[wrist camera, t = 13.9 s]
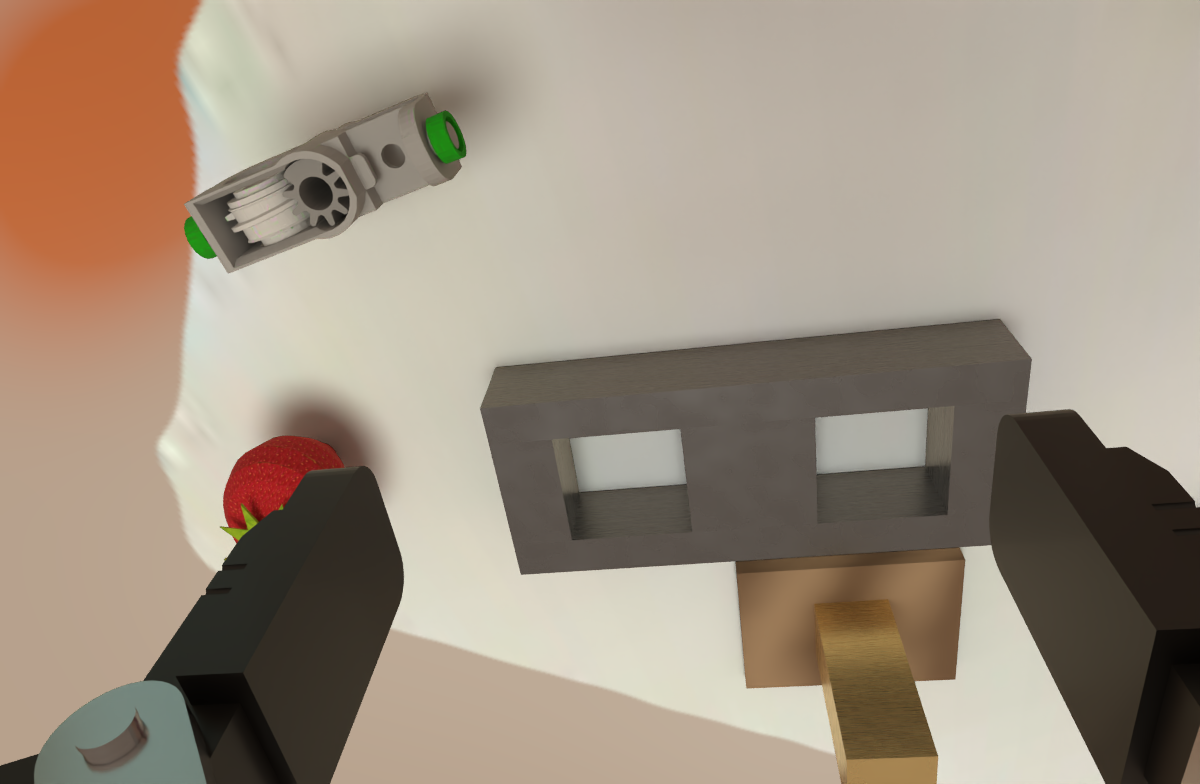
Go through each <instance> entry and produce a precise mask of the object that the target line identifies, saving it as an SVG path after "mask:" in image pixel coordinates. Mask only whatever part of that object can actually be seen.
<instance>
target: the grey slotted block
mask: <svg viewBox="0 0 1200 784" xmlns="http://www.w3.org/2000/svg"><path fill="white" fill-rule="evenodd" d="M1031 361H1032V359H1031V357H1030V356H1029V355H1028V354H1027V352H1026V351H1025V350H1024V349H1023V347H1022V346H1021V345H1020V344H1019V342H1018V341H1017V340H1016V339H1015V337H1014V336H1013V335H1012V334H1011V333H1010V331H1009V330H1008V329H1007V328H1006V326H1005V325H1004V324H1003V323H1002V321H1001V320H1000V319H997V320H986V321H976V322H965V323H955V324H945V325H934V326H924V327H913V328H903V329H892V330H882V331H872V332H861V333H851V334H840V335H830V336H820V337H809V338H799V339H788V340H778V341H767V342H757V343H747V344H736V345H726V346H715V347H705V348H695V349H684V350H674V351H663V352H653V353H642V354H632V355H622V356H611V357H601V358H590V359H580V360H570V361H559V362H549V363H538V364H528V365H518V366H507V367H497V368H495V371H494V373H493V376H492V379H491V381H490V384H489V387H488V389H487V392H486V394H485V397H484V400H483V402H482V405H481V408H480V410H481V414H482V418H483V422H484V426H485V430H486V434H487V438H488V442H489V446H490V450H491V454H492V458H493V463H494V467H495V471H496V475H497V479H498V483H499V487H500V491H501V495H502V499H503V503H504V507H505V511H506V515H507V520H508V524H509V528H510V532H511V536H512V540H513V544H514V548H515V552H516V556H517V560H518V564H519V568H520V573H521V575H523V574H539V573H555V572H571V571H587V570H602V569H618V568H634V567H650V566H666V565H682V564H698V563H714V562H730V561H746V560H762V559H778V558H794V557H809V556H825V555H841V554H857V553H873V552H889V551H905V550H921V549H937V548H953V547H969V546H985V545H991V539H990V530H989V514H990V503H991V493H992V482H993V472H994V462H995V451H996V441H997V432H998V426H999V423H1000V420H1001V418H1002V417H1003V416H1004V415H1007V414H1019V413H1026V405H1027V396H1028V387H1029V378H1030V370H1031ZM923 408H928V424H927V444H926V464H925V467H915V468H901V469H888V470H875V471H861V472H848V473H835V474H821V475H816V443H815V418H816V417H828V416H840V415H851V414H863V413H875V412H887V411H899V410H911V409H923ZM672 429H681V437H682V445H683V454H684V463H685V471H686V480H687V485H675V486H662V487H648V488H635V489H622V490H608V491H595V492H582V493H579V488H578V482H577V477H576V472H575V467H574V461H573V456H572V451H571V446H570V440H569V438H577V437H589V436H601V435H613V434H625V433H637V432H649V431H661V430H672Z"/></svg>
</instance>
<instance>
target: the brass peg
mask: <svg viewBox="0 0 1200 784" xmlns="http://www.w3.org/2000/svg"><path fill="white" fill-rule="evenodd" d="M814 613H815V638H816V657H817V662H818V667H819V672H820V677H821V682H822V687H823V692H824V698H825V703H826V708H827V713H828V718H829V723H830V728H831V733H832V738H833V743H834V749H835V754H836V759H837V764H838V769H839V774H840V779H841V784H936V783H937V766H938V755H937V751H936V748H935V745H934V742H933V739H932V736H931V732H930V729H929V726H928V723H927V720H926V717H925V714H924V710H923V707H922V704H921V701H920V698H919V695H918V691H917V688H916V685H915V682H914V679H913V676H912V672H911V669H910V666H909V663H908V660H907V657H906V653H905V650H904V647H903V644H902V641H901V638H900V635H899V631H898V628H897V625H896V622H895V619H894V616H893V612H892V609H891V606H890V603H889V600H888V599H884V600H868V601H852V602H836V603H819V604H814Z"/></svg>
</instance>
